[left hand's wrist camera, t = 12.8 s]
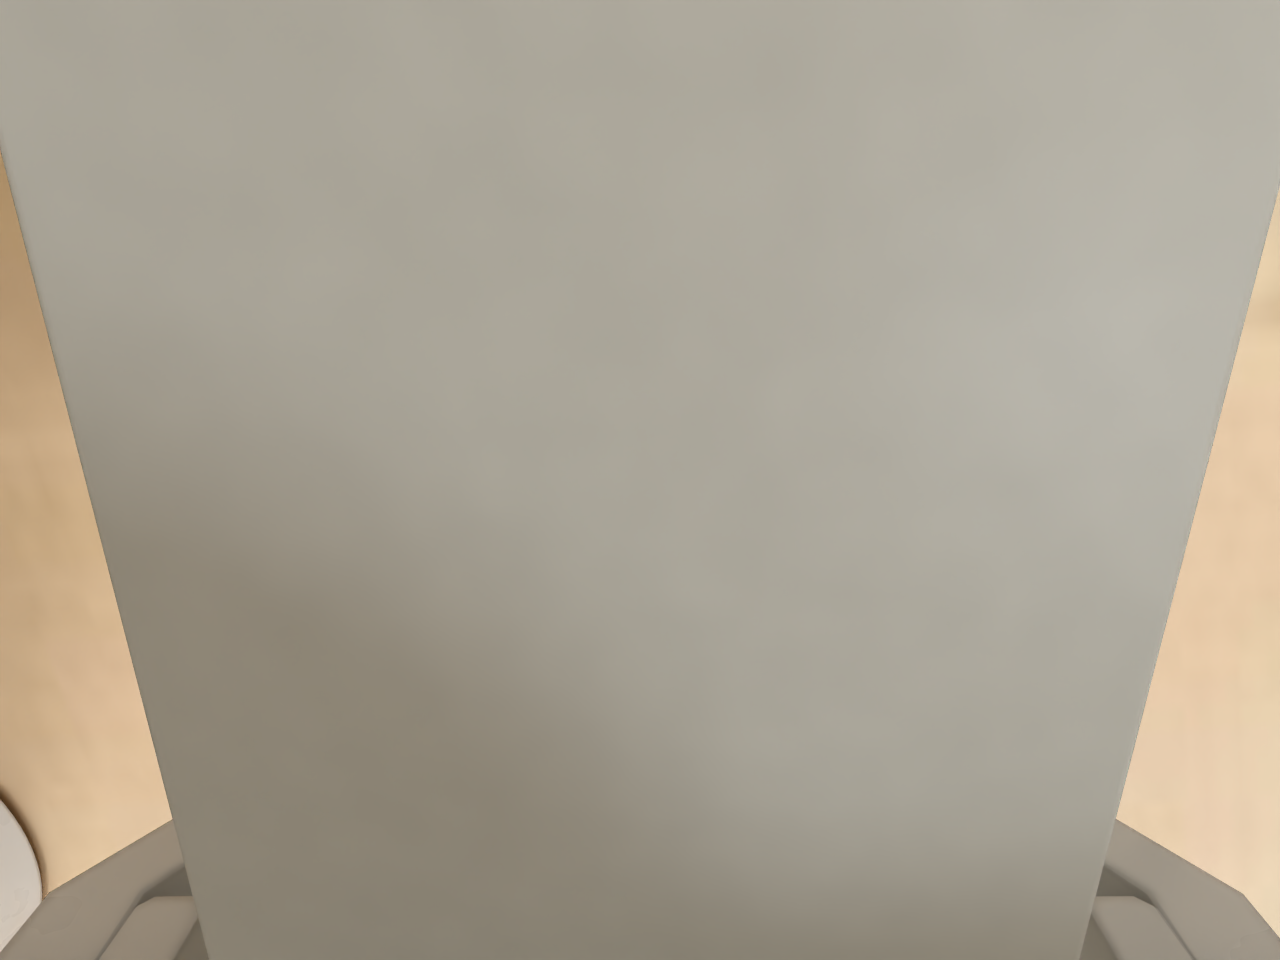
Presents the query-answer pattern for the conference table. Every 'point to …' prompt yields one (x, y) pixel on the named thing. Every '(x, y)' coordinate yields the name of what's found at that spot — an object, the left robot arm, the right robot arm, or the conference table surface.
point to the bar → (643, 447)
